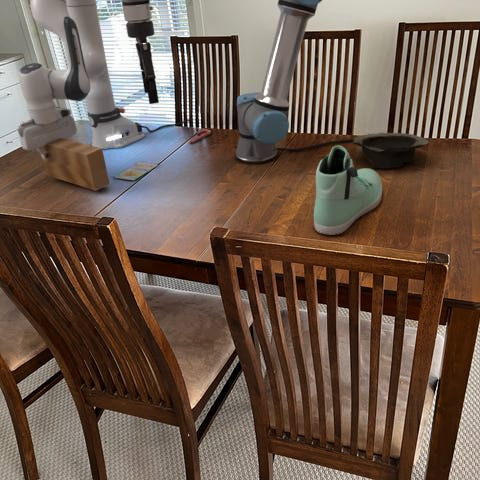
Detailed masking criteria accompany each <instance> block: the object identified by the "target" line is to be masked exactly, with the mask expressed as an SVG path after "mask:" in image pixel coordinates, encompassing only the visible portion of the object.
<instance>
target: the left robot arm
mask: <svg viewBox="0 0 480 480" xmlns="http://www.w3.org/2000/svg"><path fill="white" fill-rule="evenodd" d="M30 11H31V16H32V18H33V20H34V21H35V22H36V23H37V25H39V26H40V27H41V28H42V29H44V30H45V31H48V32H50V33H53V34H55V35H56V36H57V37H59V38H60V39H61V41H62V43H63V46H64V52H65V57H66V63H67V69H51V68H48V67H45V66H44V65H43V64H42V63H40V62H33V63H28V64H25V65H23V66H22V67H20V69H19V74H18V75H19V83H20V87H21V92H22V94H23V97H24V99H25V101H26V107H27V112H28V115H29V118H30V119H29V120H26V121H23V122H20V123H19V125H18V126H17V133H18V136H19V141H20V145H21V148H22V149H23V150H24V151H27V152H31V151H34V150H36V151H37V152H38V153H39V154H40V157H41V158H42V160H43V159H46V158H48V154H47V153H45V152H43V151H42V150H43V146H45V145H46V144H47V143H50V142H53V141H55V140H58V139H61V138H62V139H66V140H68V138H69V137H72V136H75V135H76V134H77V132H78V129H77V125H76V121H75V119H74V117H73V116H72V110H71V109H70V108H66V107H60V106H56V102H55V101H54V100H66V101H67V100H68V101H74V102H82V101H84V100H85V104H86V108H87V118H88V122H89V125H90V127H91V128H90V129H91V137H92V138H91V140H92V141H91V146H94V147H98V148H102V150H107V149H121V148H122V149H123V148H124V147H127V146H128V145H131V144H132V143H135V142H137V141H139V140H141V139H143V138H145V137H146V135H145V133H144V131H143V129H146V130H147V131H148V132H149V133H154V132H156V131H159V130H161V129H163V128H168V127H175V126H180V125H181V126H182V125H183V124H184V123H186V122H189V123H192V120H191V119H185V120H183V121H181V122H178V123H171V124H164V125H161V126H158V127H157V128H155V129H152V130H151V129H150V127H148V126H146V125H142V124H141V123H139V122H138V121H137V122H134V121H133V120H131V119H129V118H127V117H125V116H123V115H122V114H125V112H126V109H125V108H124V107H123V108H122V107H117V106H116V103H115V97H114V94H113V88H112V84H111V78H110V73H109V68H108V64H107V63H108V62H107V58H106V52H105V47H104V41H103V35H102V29H101V24H100V18H99V11H98V6H97V1H96V0H30Z"/></svg>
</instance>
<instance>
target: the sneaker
mask: <svg viewBox="0 0 480 480" xmlns="http://www.w3.org/2000/svg"><path fill="white" fill-rule="evenodd" d="M317 165H318V166H317V168H316V172H315V201H314V207H313V225H314V229H315V231H316V232H318V233H320V234H323V235H326V236H327V235H328V236H336V235H339V234H342V233H344V232H345V231H347V230H348V229H349V228H350V227H351V226H352V225H353V224H354V222H356V221H357V220H358V219H359V218H360V217H362V216H363V215H365V214H367V213H370V212H372V210H374V209H375V208H377V207H378V205H380V203H381V200H382V196H383V184H382V183H383V182H382V179H381V176H380V175H379V173H378V172H377V171H376V170H374V169H372V168H367V167H365V168H358V169H357V168H355V167H354V161H353V159H352V158H351V156H350V153H349V152H348V150H347V148H345V147H344V146H342V145H334V146H333V147H331V149H330V151H329V154H327V155H326V156H325V157H324V158H322V159H321V160H320V161H319V163H318V164H317ZM343 230H344V231H343ZM319 231H320V232H319ZM322 232H323V233H322ZM339 232H340V233H339ZM326 233H327V234H326ZM328 233H329V234H328ZM335 233H337V234H335Z"/></svg>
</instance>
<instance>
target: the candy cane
mask: <svg viewBox="0 0 480 480" xmlns="http://www.w3.org/2000/svg"><path fill="white" fill-rule="evenodd" d="M196 134H197V135H198V136H196V137H194V138H192V139H190V140H189V142H188V143H189V144H191V145H192V144H194V143H196V142H199V140H203V139H204V138H206V137H208V136H210V135H211V134H212V131H211V130H210V129H208V128H203V129H200V130H199V129H198V130H197V132H196Z"/></svg>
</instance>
